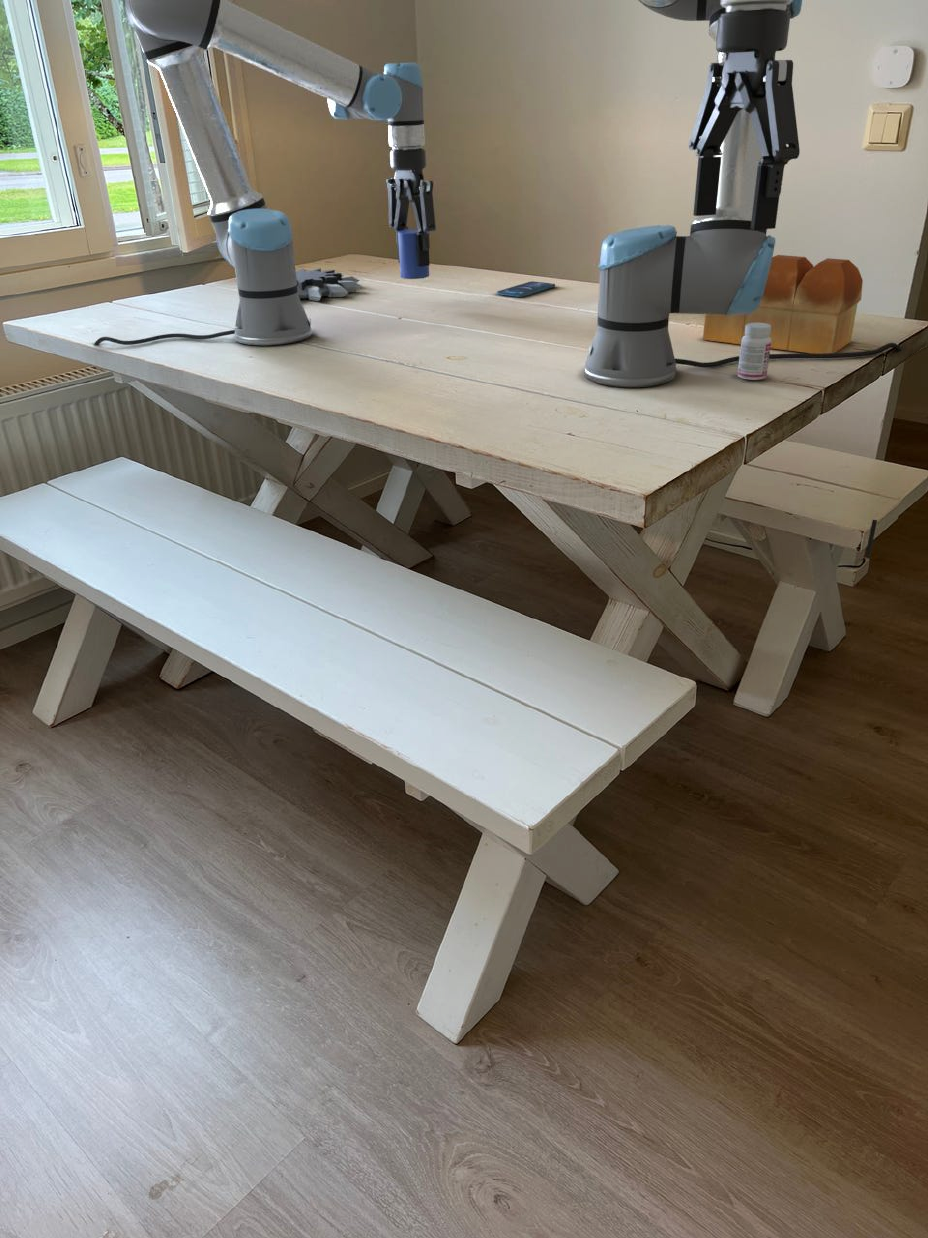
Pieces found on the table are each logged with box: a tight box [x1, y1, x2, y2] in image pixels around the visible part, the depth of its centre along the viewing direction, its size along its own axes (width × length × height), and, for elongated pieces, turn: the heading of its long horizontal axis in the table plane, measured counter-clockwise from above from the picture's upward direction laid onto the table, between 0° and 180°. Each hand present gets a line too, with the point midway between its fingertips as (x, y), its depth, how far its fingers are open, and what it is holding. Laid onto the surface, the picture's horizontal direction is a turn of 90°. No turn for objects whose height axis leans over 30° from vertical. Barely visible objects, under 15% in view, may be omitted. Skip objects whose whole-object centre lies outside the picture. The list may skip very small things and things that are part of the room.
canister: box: [398, 228, 430, 280], centre depth 208 cm, size 6×6×9 cm
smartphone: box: [496, 281, 556, 298], centre depth 225 cm, size 8×1×15 cm
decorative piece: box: [296, 267, 363, 302], centre depth 230 cm, size 30×4×30 cm
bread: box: [702, 254, 864, 354], centre depth 174 cm, size 25×12×15 cm, turn 54°
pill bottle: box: [737, 323, 772, 381], centre depth 155 cm, size 5×5×8 cm
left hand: (414, 263), depth 209 cm, fingers closed on canister, 6 cm apart
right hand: (732, 221), depth 112 cm, fingers open, 13 cm apart
